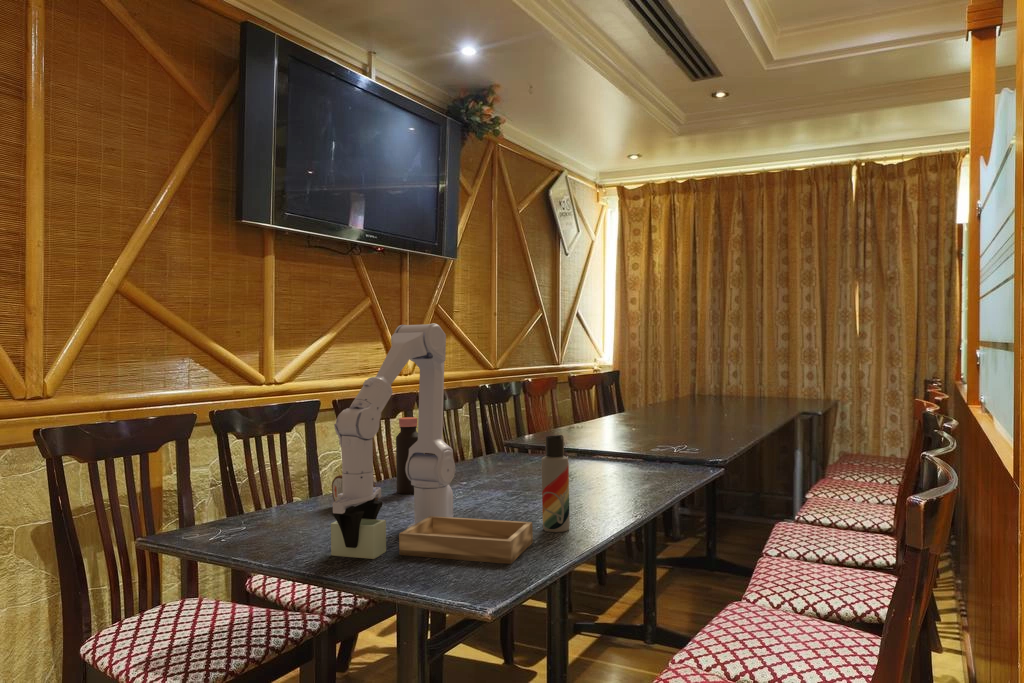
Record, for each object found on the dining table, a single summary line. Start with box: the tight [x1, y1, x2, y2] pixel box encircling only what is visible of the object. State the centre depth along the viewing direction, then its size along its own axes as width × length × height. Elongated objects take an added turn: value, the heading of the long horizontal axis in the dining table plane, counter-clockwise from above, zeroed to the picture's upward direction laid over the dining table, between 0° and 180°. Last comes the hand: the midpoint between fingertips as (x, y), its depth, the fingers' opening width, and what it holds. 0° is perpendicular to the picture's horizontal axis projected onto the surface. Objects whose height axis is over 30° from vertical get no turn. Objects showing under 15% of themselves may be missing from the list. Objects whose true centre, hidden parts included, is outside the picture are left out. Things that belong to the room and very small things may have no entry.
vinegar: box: [395, 416, 418, 495], centre depth 188 cm, size 7×7×20 cm
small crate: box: [330, 518, 387, 560], centre depth 132 cm, size 5×9×6 cm, turn 72°
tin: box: [331, 474, 379, 502], centre depth 168 cm, size 15×3×8 cm, turn 51°
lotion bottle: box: [541, 434, 571, 533], centre depth 147 cm, size 6×6×20 cm
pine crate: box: [398, 516, 534, 565], centre depth 134 cm, size 14×22×4 cm, turn 72°
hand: (358, 543), depth 132 cm, fingers closed on small crate, 5 cm apart
